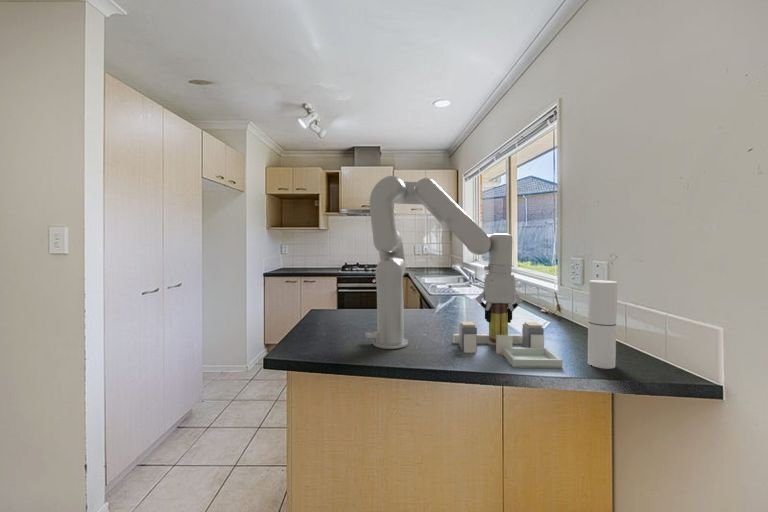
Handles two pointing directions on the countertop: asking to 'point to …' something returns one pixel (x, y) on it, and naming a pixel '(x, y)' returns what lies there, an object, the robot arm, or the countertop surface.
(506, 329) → the sauce bottle
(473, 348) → the clip rack
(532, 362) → the tray
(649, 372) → the countertop surface
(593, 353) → the cylindrical container
